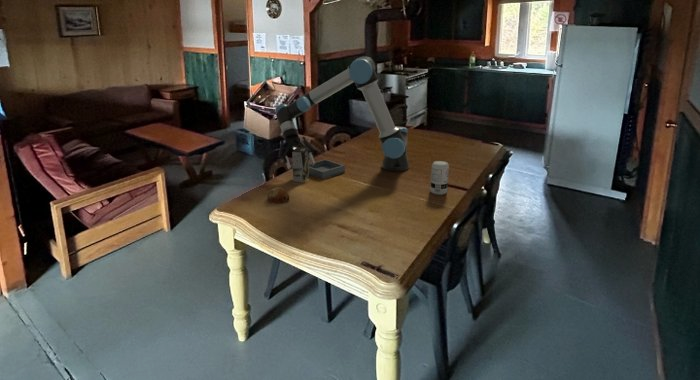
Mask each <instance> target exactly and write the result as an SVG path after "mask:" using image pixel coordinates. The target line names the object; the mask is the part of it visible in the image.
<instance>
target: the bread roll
mask: <svg viewBox="0 0 700 380" xmlns="http://www.w3.org/2000/svg"><path fill="white" fill-rule="evenodd" d="M266 198H267V201H268V202H269V203H270V204H275V205H276V204H277V205H278V204H279V205H281V204H286V203H287V202H289V201H290V198H291V196H290V194H289V192H288V191H287V190H286V189H285V188H284V187H280V186H278V187H274V188H272V189H270V190H269V191H268V193H267V195H266Z"/></svg>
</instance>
